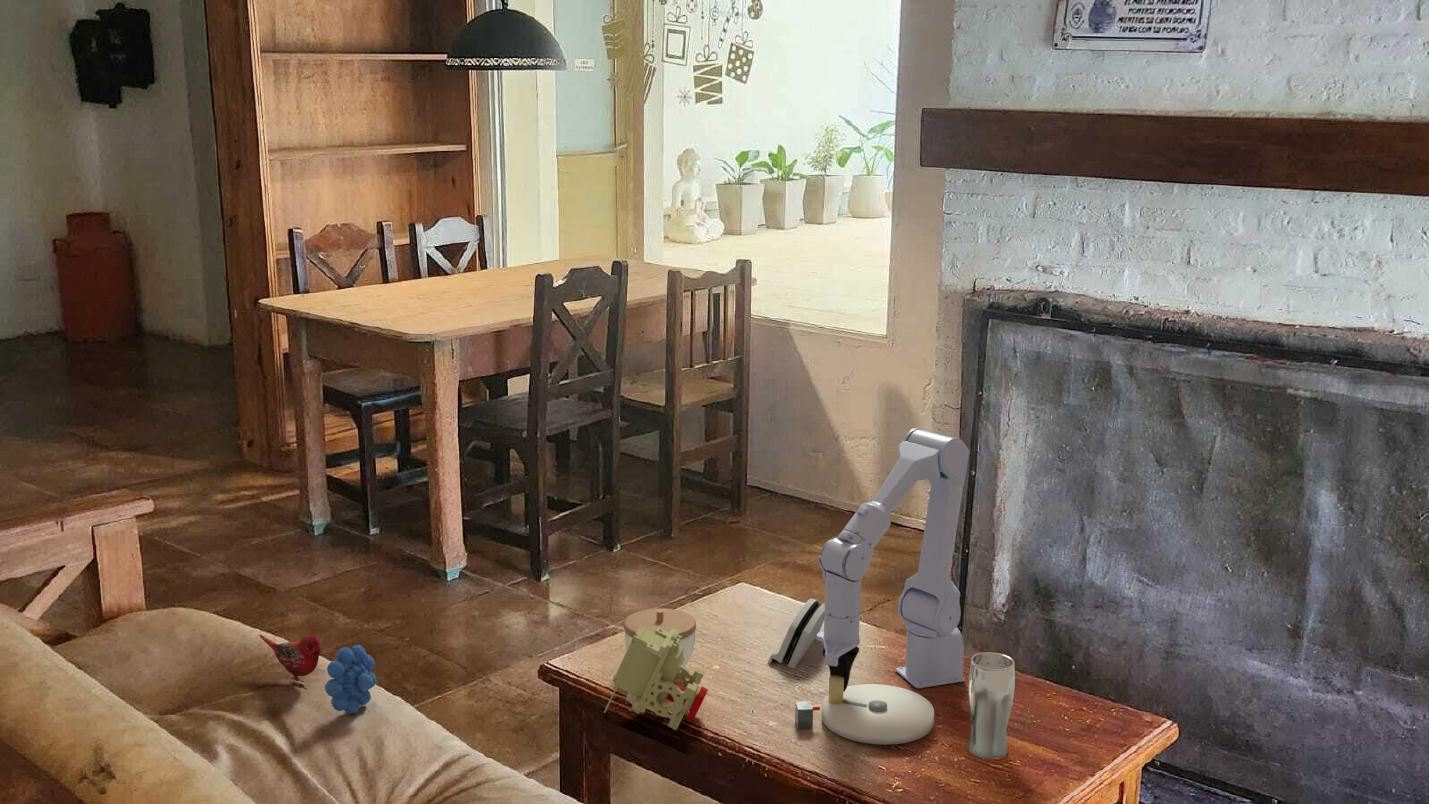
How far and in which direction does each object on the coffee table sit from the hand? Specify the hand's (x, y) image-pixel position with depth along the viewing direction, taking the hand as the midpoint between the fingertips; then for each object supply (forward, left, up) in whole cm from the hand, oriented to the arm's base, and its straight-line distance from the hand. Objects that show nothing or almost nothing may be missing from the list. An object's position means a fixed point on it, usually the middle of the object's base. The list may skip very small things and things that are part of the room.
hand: (839, 689), depth 219 cm
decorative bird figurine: (+84, -41, -4) cm, 94 cm away
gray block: (+7, +3, -4) cm, 9 cm away
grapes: (+75, -24, -4) cm, 79 cm away
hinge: (-4, -25, -4) cm, 26 cm away
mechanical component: (+27, -6, -4) cm, 28 cm away
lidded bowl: (+23, -25, -4) cm, 34 cm away
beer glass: (-16, +20, -4) cm, 26 cm away
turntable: (-4, +6, -4) cm, 8 cm away
